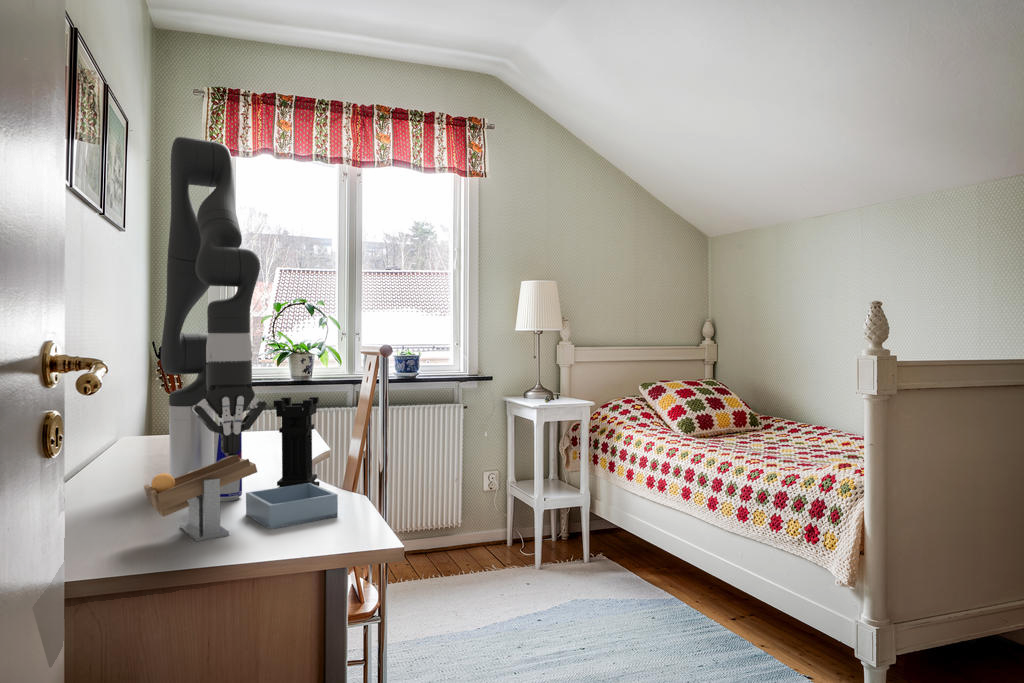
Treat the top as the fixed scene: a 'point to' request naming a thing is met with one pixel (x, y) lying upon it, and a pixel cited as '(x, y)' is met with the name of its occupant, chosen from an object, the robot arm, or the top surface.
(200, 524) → the fulcrum
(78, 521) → the top surface
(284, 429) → the chess piece
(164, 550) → the top surface
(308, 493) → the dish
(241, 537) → the top surface
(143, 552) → the top surface
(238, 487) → the beverage can
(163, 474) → the ball
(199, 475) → the lever
